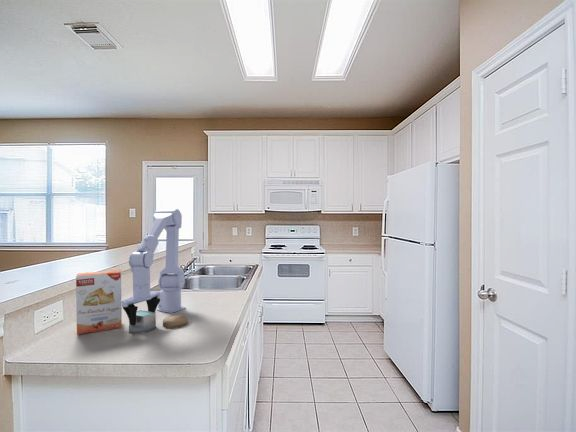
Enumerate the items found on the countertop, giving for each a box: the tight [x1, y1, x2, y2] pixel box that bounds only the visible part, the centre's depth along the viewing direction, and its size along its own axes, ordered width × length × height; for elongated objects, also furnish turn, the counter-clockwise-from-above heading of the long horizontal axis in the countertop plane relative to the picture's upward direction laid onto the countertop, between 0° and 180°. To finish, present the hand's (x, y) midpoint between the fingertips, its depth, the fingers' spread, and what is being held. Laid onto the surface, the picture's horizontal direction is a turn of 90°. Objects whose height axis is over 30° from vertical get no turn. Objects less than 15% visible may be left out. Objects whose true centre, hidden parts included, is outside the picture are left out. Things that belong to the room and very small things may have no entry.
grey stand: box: [128, 323, 157, 334], centre depth 115 cm, size 9×9×2 cm
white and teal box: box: [128, 309, 157, 328], centre depth 115 cm, size 8×5×4 cm, turn 62°
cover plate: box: [136, 311, 151, 316], centre depth 115 cm, size 6×3×1 cm, turn 63°
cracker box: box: [75, 269, 123, 335], centre depth 115 cm, size 14×6×21 cm, turn 117°
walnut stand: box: [162, 314, 189, 329], centre depth 119 cm, size 9×9×2 cm
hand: (142, 321), depth 115 cm, fingers open, 7 cm apart
